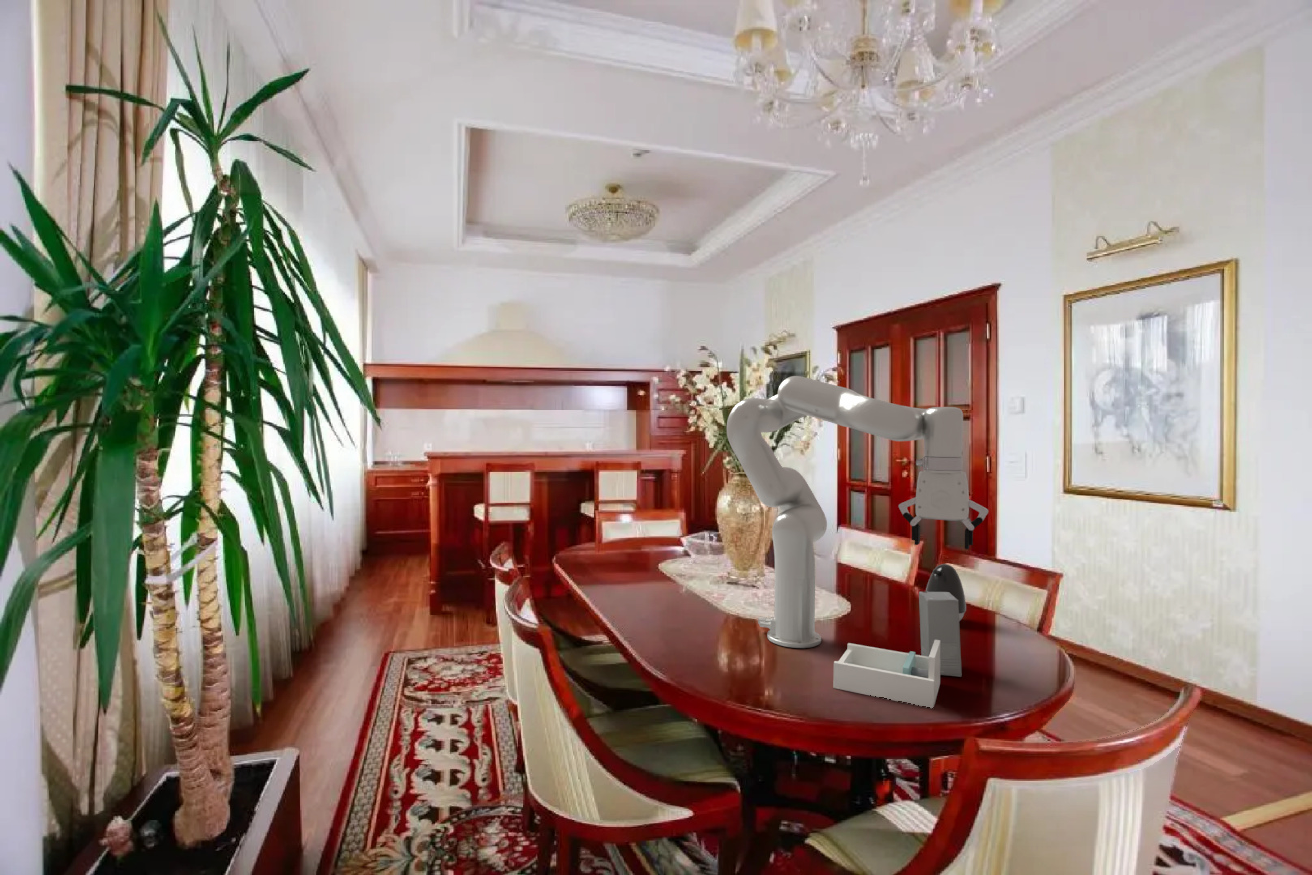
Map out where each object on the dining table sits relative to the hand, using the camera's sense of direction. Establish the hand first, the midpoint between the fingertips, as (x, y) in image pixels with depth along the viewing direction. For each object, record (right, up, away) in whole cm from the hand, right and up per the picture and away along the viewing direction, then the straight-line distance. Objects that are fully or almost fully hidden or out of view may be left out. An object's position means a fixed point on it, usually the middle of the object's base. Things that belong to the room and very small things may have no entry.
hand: (941, 546), depth 133 cm
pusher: (-10, -25, -12) cm, 29 cm away
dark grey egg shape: (+16, -26, +34) cm, 45 cm away
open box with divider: (-15, -26, -9) cm, 31 cm away
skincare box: (0, -26, 0) cm, 26 cm away
